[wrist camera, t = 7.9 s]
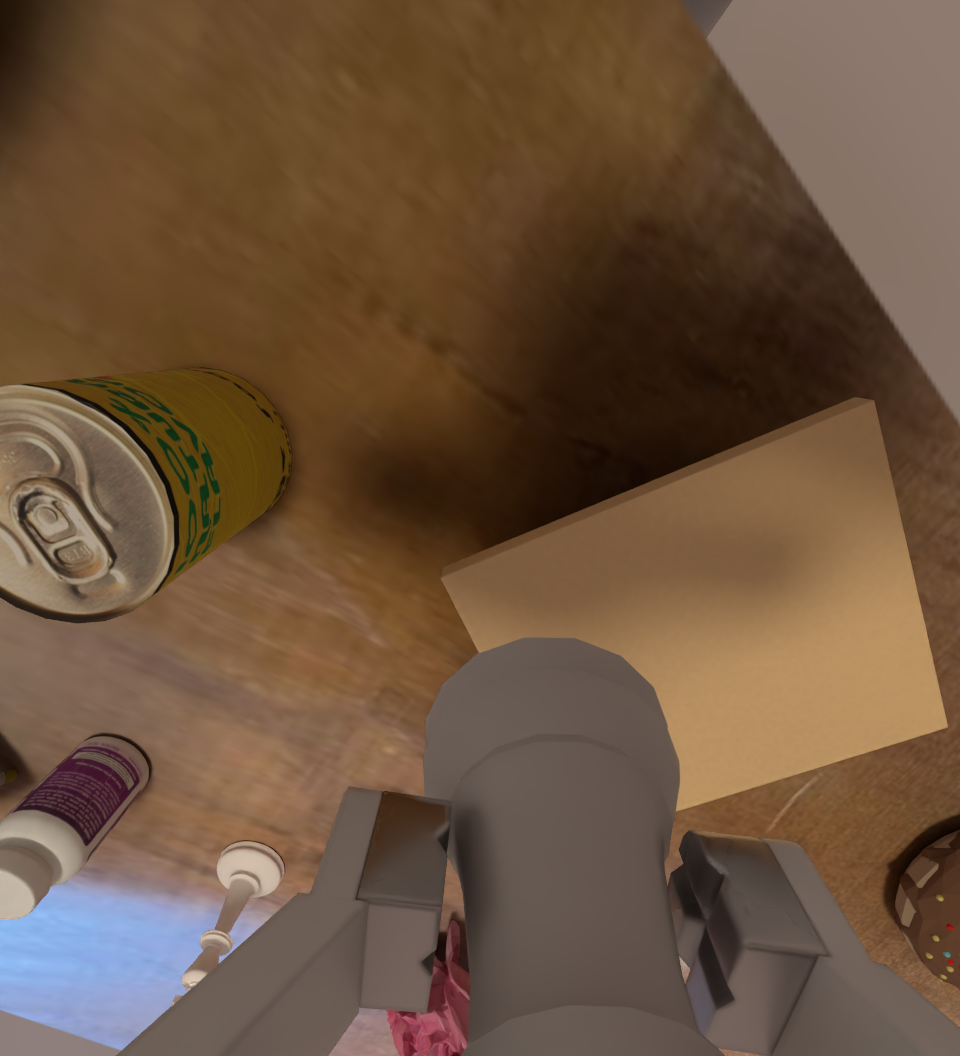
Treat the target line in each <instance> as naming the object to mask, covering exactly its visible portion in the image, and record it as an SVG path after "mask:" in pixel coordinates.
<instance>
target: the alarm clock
mask: <svg viewBox="0 0 960 1056" xmlns="http://www.w3.org/2000/svg"><path fill="white" fill-rule="evenodd" d="M16 776H17V772H16V770H1V771H0V785H3V784H5V783H7V782H9V781H11V780H14V779H15V778H16Z"/></svg>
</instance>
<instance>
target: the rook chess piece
mask: <svg viewBox="0 0 960 1056" xmlns="http://www.w3.org/2000/svg"><path fill="white" fill-rule="evenodd" d="M425 728H426V751H425V753H424V755H423V768H424V792H425V797H428V798H434V799H441V800H448V801H452V812H451V824H450V832H449V839H448V847H447V857H448V858H449V860H450V862H451V864H452V866H453V867H454V869H455V871H456V873H457V874H458V876H459V879H460V883H461V888H462V892H463V899H464V912H465V924H466V936H467V949H468V961H469V974H470V1008H469V1033H468V1045H467V1047H466V1048H465V1050H464V1051H463V1053H462V1055H461V1056H724V1054H723V1053H722V1052H721V1051H720V1050H719V1049H718V1048H717V1047H715V1046H714V1045H713V1044H712V1043H711V1042H710V1041H709V1040H708V1039H707V1038H706V1037H705V1036H704V1035H702V1034H701V1033H700V1032H699V1030H698V1027H697V1023H696V1020H695V1017H694V1013H693V1010H692V1006H691V1003H690V1000H689V996H688V993H687V989H686V986H685V983H684V979H683V976H682V971H681V965H680V959H679V953H678V947H677V942H676V936H675V930H674V924H673V918H672V912H671V906H670V900H669V894H668V888H667V882H666V876H665V870H664V860H665V859H666V857H667V856H668V854H669V847H670V840H671V833H672V826H673V821H674V820H675V813H676V806H677V799H678V792H679V785H680V764H679V759H678V756H677V753H676V751H675V748H674V745H673V743H672V740H671V737H670V734H669V732H668V724H667V722H666V719H665V716H664V714H663V711H662V708H661V705H660V703H659V700H658V697H657V695H656V692H655V689H654V687H653V686H652V685H651V684H650V683H649V682H648V681H647V680H646V679H645V678H644V677H643V676H642V675H641V674H640V673H639V672H638V671H636V670H635V669H634V668H633V667H632V666H631V665H630V664H629V663H628V662H627V661H626V660H625V659H624V658H623V657H622V656H620V655H618V654H615V653H613V652H610V651H607V650H605V649H602V648H600V647H597V646H594V645H592V644H589V643H587V642H584V641H581V640H579V639H576V638H526V637H524V638H521V639H518V640H516V641H513V642H510V643H507V644H504V645H501V646H498V647H495V648H493V649H490V650H487V651H484V652H481V653H478V654H476V655H475V656H474V657H473V658H472V659H471V660H470V661H468V662H467V663H466V664H465V665H464V666H463V667H461V668H460V669H459V670H458V671H457V672H456V673H454V674H453V675H452V676H451V677H450V678H449V679H448V680H446V681H445V682H444V683H443V684H442V686H441V688H440V690H439V693H438V695H437V697H436V699H435V701H434V703H433V706H432V708H431V710H430V712H429V714H428V717H427V719H426V721H425Z"/></svg>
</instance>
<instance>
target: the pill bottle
mask: <svg viewBox="0 0 960 1056" xmlns="http://www.w3.org/2000/svg"><path fill="white" fill-rule="evenodd" d="M148 777H149V768H148V764H147V762H146V760H145V758H144V757H143V755H142V754H141V753H140V751H139V750H137V749H136V748H135V747H134V746H133V745H131V744H129V743H128V742H126V741H123V740H121V739H118V738H114V737H107V736H100V737H94V738H91V739H88V740H86V741H84V742H83V743H81V744H80V745H79V746H78V747H77V748H76V749H75V750H74V751H73V752H72V753H71V754H69V755H68V756H67V757H66V758H65V759H64V760H63V761H62V762H61V763H60V764H59V765H58V766H57V767H56V768H55V769H54V770H53V771H51V772H50V774H49V775H48V776H46V777H45V778H44V779H43V780H42V781H41V782H40V783H39V784H38V785H37V786H36V787H35V788H34V789H33V790H32V791H31V792H30V793H29V794H28V795H27V796H26V797H25V798H24V799H23V800H22V801H21V802H20V803H19V804H18V805H17V806H16V807H15V808H14V809H13V810H12V811H11V812H10V813H9V814H8V815H7V816H6V817H5V818H4V819H3V820H2V821H1V822H0V919H8V920H10V919H11V920H12V919H19V918H22V917H25V916H26V915H28V914H29V913H30V912H32V911H33V909H34V908H35V907H36V906H37V905H38V903H39V902H40V901H41V900H42V899H43V898H44V897H45V896H46V894H47V893H48V891H49V889H50V887H51V886H55V885H58V884H61V883H63V882H65V881H67V880H69V879H70V878H72V877H73V876H74V875H75V874H76V873H77V872H78V871H79V870H80V869H81V868H82V867H83V866H84V865H85V863H86V862H87V861H88V859H89V858H90V857H91V856H92V854H93V853H94V852H95V850H96V849H97V848H98V847H99V845H100V844H101V843H102V842H103V840H104V839H105V838H106V836H107V835H108V834H109V833H110V831H111V830H112V829H113V827H114V826H115V825H116V824H117V822H118V821H119V820H120V818H121V817H122V816H123V814H124V813H125V812H126V810H127V809H128V808H129V807H130V805H131V804H132V803H133V801H134V800H135V799H136V798H137V796H138V795H139V793H140V792H141V791H142V789H143V788H144V787H145V785H146V783H147V781H148Z"/></svg>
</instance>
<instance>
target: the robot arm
mask: <svg viewBox="0 0 960 1056" xmlns="http://www.w3.org/2000/svg"><path fill="white" fill-rule="evenodd" d="M451 812H452V801H448V800H441V799H434V798H428V797H421V796H415V795H408V794H401V793H395V792H388V791H384V792H383V791H376V790H370V789H363V788H357V787H350V786H349V787H348V789H347V791H346V792H345V794H344V795H343V798H342V801H341V804H340V807H339V810H338V813H337V816H336V819H335V822H334V825H333V828H332V831H331V834H330V837H329V840H328V843H327V845H326V848H325V851H324V854H323V857H322V860H321V863H320V866H319V869H318V872H317V875H316V878H315V881H314V884H313V887H312V890H311V893H310V894H302V893H298V894H297V895H296V896H295V897H293V898H292V899H291V900H290V901H289V902H288V903H287V904H286V905H284V906H283V907H282V908H281V909H280V910H279V911H278V912H277V913H276V914H274V915H273V916H272V917H271V918H270V919H269V920H268V921H267V922H265V923H264V924H263V925H262V926H261V927H260V928H259V929H258V930H256V931H255V932H254V933H253V934H252V935H251V936H250V937H249V938H248V939H246V940H245V941H244V942H243V943H242V944H241V945H240V946H239V947H237V948H236V949H235V950H234V951H233V952H232V953H231V954H230V955H228V956H227V957H226V958H225V959H224V960H223V961H222V962H221V963H219V964H218V965H217V966H216V967H215V968H214V969H213V970H212V971H211V972H209V973H208V974H207V975H206V976H205V977H204V978H203V979H202V980H200V981H199V982H198V983H197V984H196V985H195V986H194V987H193V988H191V989H190V990H189V991H188V992H187V993H186V994H185V995H184V996H183V997H181V998H180V999H179V1000H178V1001H177V1002H176V1003H175V1004H174V1005H172V1006H171V1007H170V1008H169V1009H168V1010H167V1011H166V1012H165V1013H163V1014H162V1015H161V1016H160V1017H159V1018H158V1019H157V1020H156V1021H154V1022H153V1023H152V1024H151V1025H150V1026H149V1027H148V1028H147V1029H146V1030H144V1031H143V1032H142V1033H141V1034H140V1035H139V1036H138V1037H137V1038H135V1039H134V1040H133V1041H132V1042H131V1043H130V1044H129V1045H128V1046H126V1047H125V1048H124V1049H123V1050H122V1051H121V1052H120V1053H119V1054H118V1055H116V1056H328V1055H329V1053H330V1052H331V1051H332V1049H333V1048H334V1046H335V1045H336V1044H337V1042H338V1041H339V1039H340V1038H341V1037H342V1035H343V1034H344V1032H345V1031H346V1030H347V1028H348V1027H349V1025H350V1024H351V1023H352V1021H353V1020H354V1018H355V1017H356V1016H357V1014H358V1012H359V1007H360V1008H372V1009H383V1010H395V1011H407V1012H419V1013H427V1008H428V1001H429V995H430V989H431V982H432V976H433V967H434V957H435V950H436V949H437V942H438V934H439V927H440V919H441V912H442V903H443V894H444V884H445V875H446V865H447V847H448V839H449V832H450V824H451ZM679 852H680V855H681V857H682V860H683V863H684V864H683V865H681V866H680V867H679V868H677V869H676V870H675V871H673V872H672V873H671V876H670V879H669V883H668V887H667V888H668V894H669V900H670V906H671V912H672V918H673V924H674V930H675V936H676V942H677V947H678V953H679V956H680V957H681V958H682V960H683V961H684V962H685V963H686V964H687V965H688V966H689V968H690V969H691V970H690V973H689V975H688V978H687V981H686V984H685V986H686V989H687V993H688V996H689V1000H690V1003H691V1006H692V1010H693V1013H694V1017H695V1020H696V1023H697V1027H698V1030H699V1032H700V1033H701V1034H702V1035H704V1036H705V1037H706V1038H707V1039H708V1040H709V1041H710V1042H711V1043H712V1044H713V1045H714V1046H715V1047H717V1048H720V1049H727V1050H733V1051H740V1052H746V1053H753V1054H760V1055H766V1056H960V1027H959V1026H957V1025H956V1024H955V1023H954V1022H953V1021H951V1020H950V1019H949V1018H948V1017H947V1016H946V1015H944V1014H943V1013H942V1012H941V1011H940V1010H939V1009H937V1008H936V1007H935V1006H934V1005H933V1004H931V1003H930V1002H929V1001H928V1000H927V999H926V998H924V997H923V996H922V995H921V994H920V993H919V992H917V991H916V990H915V989H914V988H913V987H912V986H910V985H909V984H908V983H907V982H906V981H904V980H903V979H902V978H901V977H900V976H899V975H897V974H896V973H895V972H894V971H893V970H892V969H890V968H889V967H888V966H887V965H886V964H880V963H874V962H873V961H872V959H871V958H870V956H869V954H868V953H867V951H866V949H865V948H864V946H863V945H862V943H861V941H860V940H859V938H858V936H857V935H856V933H855V932H854V930H853V928H852V927H851V925H850V923H849V922H848V920H847V919H846V917H845V915H844V914H843V912H842V910H841V909H840V907H839V906H838V904H837V902H836V901H835V899H834V897H833V896H832V894H831V893H830V891H829V889H828V888H827V886H826V884H825V883H824V881H823V880H822V878H821V876H820V875H819V873H818V871H817V870H816V868H815V867H814V865H813V863H812V862H811V860H810V858H809V857H808V855H807V853H806V852H805V850H804V849H803V848H802V847H801V846H799V845H798V844H797V843H796V842H792V841H783V840H774V839H765V838H758V839H757V838H755V837H748V836H739V835H730V834H721V833H712V832H703V831H694V830H689V831H688V832H687V833H686V834H685V835H684V836H683V839H682V842H681V845H680V848H679Z"/></svg>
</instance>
